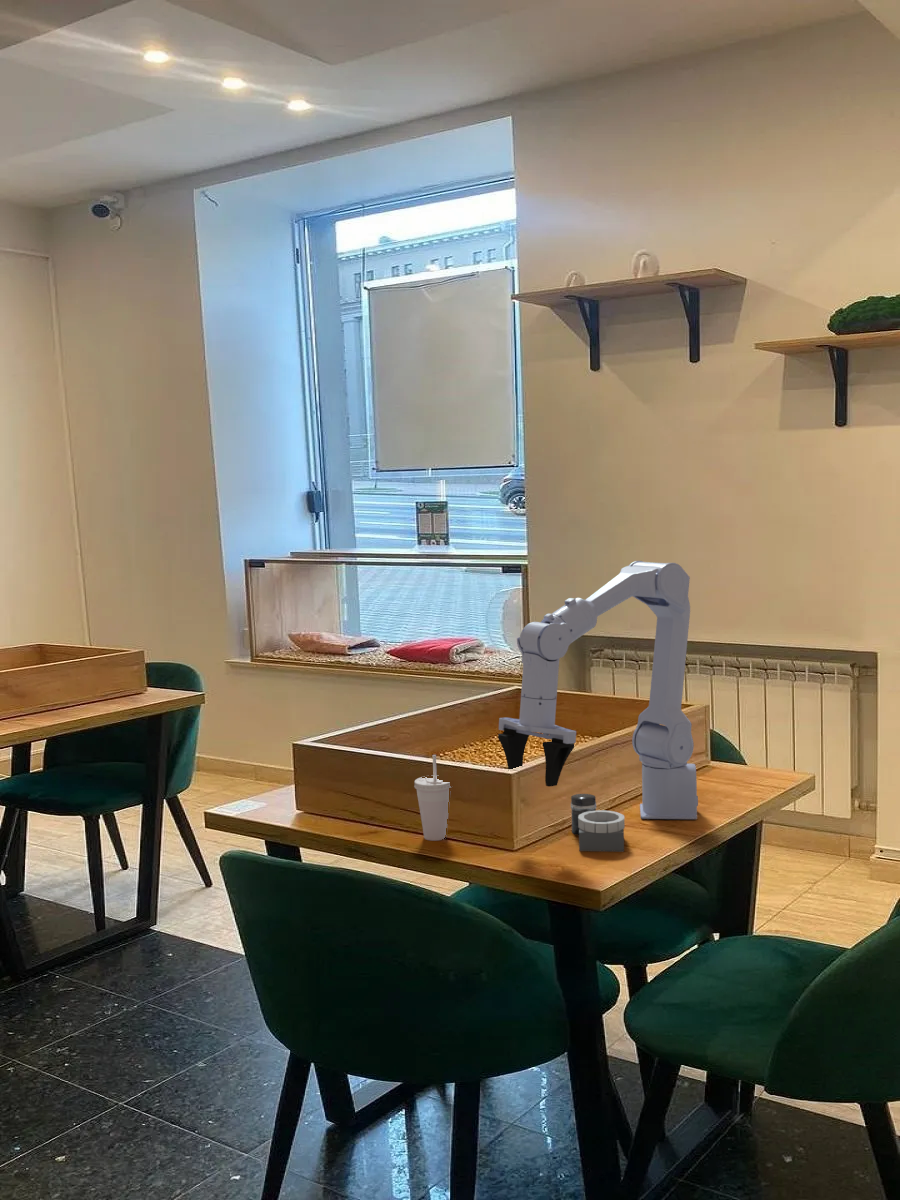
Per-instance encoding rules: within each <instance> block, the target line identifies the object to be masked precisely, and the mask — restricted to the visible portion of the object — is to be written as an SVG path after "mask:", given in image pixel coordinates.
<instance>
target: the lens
mask: <svg viewBox="0 0 900 1200" xmlns="http://www.w3.org/2000/svg"><path fill="white" fill-rule="evenodd" d="M570 799H571V801H570V809H571V833H572V834H573V835H575V836H578V837H579V827H578V816H579V815H580V814H582V813H584V812H588V811H596V810H597V802H596V801H597V800H596V795H593V794H592V793H591V794H590V793H576V794H572V795H571V796H570Z"/></svg>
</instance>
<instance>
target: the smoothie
mask: <svg viewBox="0 0 900 1200" xmlns="http://www.w3.org/2000/svg"><path fill="white" fill-rule="evenodd" d="M432 771H433V772H432V773H433V774H432V776H433V778H427V777H425V776H424V777H425V778H422V777H423V776H421V777H418V778H416V779H415V780H414V786H413V787H414V789H416V795H417V800H418V807H419V812H420V813H419V815H420V820H421V827H422V832H423V839H424V840H427V841H433V842H434V841H442V839H443V840H445V839H446V838H445V835H446V828H447V829H448V824H447V819H448V820H449V813H448V802H449V788H452V787H451V786H450V782H443V780H439V779H437V776H438V775H437V754H432ZM449 803H450V802H449ZM446 836H447V835H446ZM444 838H445V839H444Z"/></svg>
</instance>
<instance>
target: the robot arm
mask: <svg viewBox="0 0 900 1200" xmlns="http://www.w3.org/2000/svg"><path fill="white" fill-rule="evenodd" d="M690 580H691V577H690V576H689V575H688V573H687V572H686V571H685V570H684V568H683V567H682V566H681V565H680V564H678V563H676V562H652V561H650V562H649V561H643V560H634V561H633V562H631V563H630V564H628V565H626V566H624V567H622V568H620V571H619V573H618V574H617V575H616V576H614V577H613V578H612V579H611V580H609V581H607V583H606V584H604V585H603V586H601V587H600V588H599V589H597V590H596V591H595V592H594V593H592V594H590V596H589V597H587V598H585V599H583V598H581V597H575V598H573V597H569V598H567V599H565V600H564V605H562V606H561V607H559V608H558V609H556V610H554V611H553V612H552V613H546V614H545V615H543V618H542V620H541V621H531V622H529V623H527V624H526V625H525V626H524V627H523V629H522V630H521V631H520V635H519V637H517V638H516V644H517V648H518V650H519V652H520V654H521V664H522V675H521V676H522V679H521V680H522V681H521V689H520V690H521V691H520V692H521V693H520V703H519V704H520V706H519V707H520V708H519V718H512V717H499V718H498V719H499V720H498V731H502V733H498V734H497V740H499V743H500V745H501V747H502V749H503V752H504V755H505V758H506V759H505V760H506V764H507V768H508V769H513V768H516V767H519V766H522V767H523V765H524V754H525V749H526V745H527V743H528V739H529V737H530V736H533V737H538V738H541V739H547V740H551V741H543V742H542V749H543V753H544V757H545V758H544V759H545V774H544V775H545V776H544V779H545V780H544V781H545V786H546V787H556V786H558V783H559V780H560V777H561V773H562V770H563V768H564V766H565V763H566V761H567V760H568V758H569V756H570V754H571V753H572V752H573V750H574V749H575V743H576V742H577V741H576V740H577V738H576V737H577V730H572V729H570V728H565V727H562V726H559V725H557V724H556V713H557V712H556V711H557V701H558V700H557V699H558V698H557V697H558V682H559V670H560V668H559V667H560V659H562V658H564V657H565V655H566V654H567V652H568V650H569V646H570V645H571V644H572V643H574V642H575V641H576V640H578V639H579V638H581V637H582V636H584V635H585V634H586V633H588V632H590V631H591V630H592V629H594V628H595V627H596V625H597V621H598V617H600V616H601V615H603V614H604V613H606V612H608V611H610V610H611V609H613V608H615V607H616V606H618V605H620V604H622V603H623V602H625V601H626V600H628V599H630V598H631V597H633V598H634V599H637V600H638V601H640V602H641V603H643V604H645V605H646V606H647V607H648V608H649V609H650V610H651V611H652V613H653V614H654V615H655V616H656V626H655V639H654V649H653V658H652V668H651V669H652V670H651V678H650V679H651V681H650V689H649V690H650V691H649V699H648V700H649V702H648V706H647V708H645V709H644V710H643V711H642V712H640V714H639V715H638V719H637V723H636V726H635V727H636V728H635V729H634V731H633V734H632V740H631V744H632V747H633V751H634V752H635V753H636V754H637V755H638V756H639V762H641V781H642V782H641V783H642V784H641V786H642V787H641V791H642V799H641V800H642V801H641V802H642V803H640V804H639V811H640V813H639V814H640V819H642V820H645V819H647V820H697V819H698V806H699V798H698V797H699V796H698V795H697V793H698V792H697V791H698V790H697V789H698V787H697V780H698V779H697V767H696V764H695V763H688V762H689V760H690V759H691V757H692V755H693V752H694V746H695V745H694V743H695V742H694V738H693V735H692V722H691V721H690V719H689V718H688V717H687V715H686V714H685V713H684V712H683V710H682V701H683V691H684V681H685V669H686V659H687V651H688V649H687V648H688V639H689V630H690V629H689V627H690V626H689V625H690V617H691V616H690V615H691V604H690V599H689V590H690V589H689V588H690Z"/></svg>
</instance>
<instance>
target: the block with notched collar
mask: <svg viewBox="0 0 900 1200" xmlns="http://www.w3.org/2000/svg"><path fill="white" fill-rule="evenodd" d="M625 826H626V825H625V815H624V814H622V812H621V813H620V812H617V811H613V810H604V809H602V810H599V809H598V810H597V809H596V811H588V812H584V813H582V814H580V815H579V816H578V827H579V836H578V848H579V849H578V850H579V852H616V853H617V852H625V834H624V833H625V832H624V831H625V830H624V829H625Z"/></svg>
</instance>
